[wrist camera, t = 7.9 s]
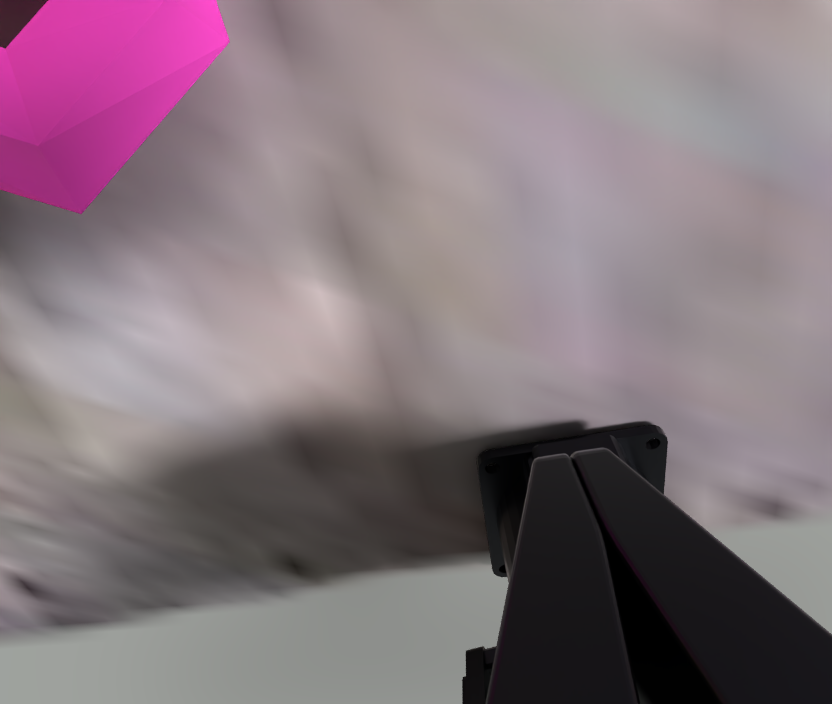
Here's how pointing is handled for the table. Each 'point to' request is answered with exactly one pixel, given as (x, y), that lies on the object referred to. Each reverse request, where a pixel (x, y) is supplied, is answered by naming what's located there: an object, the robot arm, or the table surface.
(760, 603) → the robot arm
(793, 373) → the table surface
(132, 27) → the toy
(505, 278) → the table surface
